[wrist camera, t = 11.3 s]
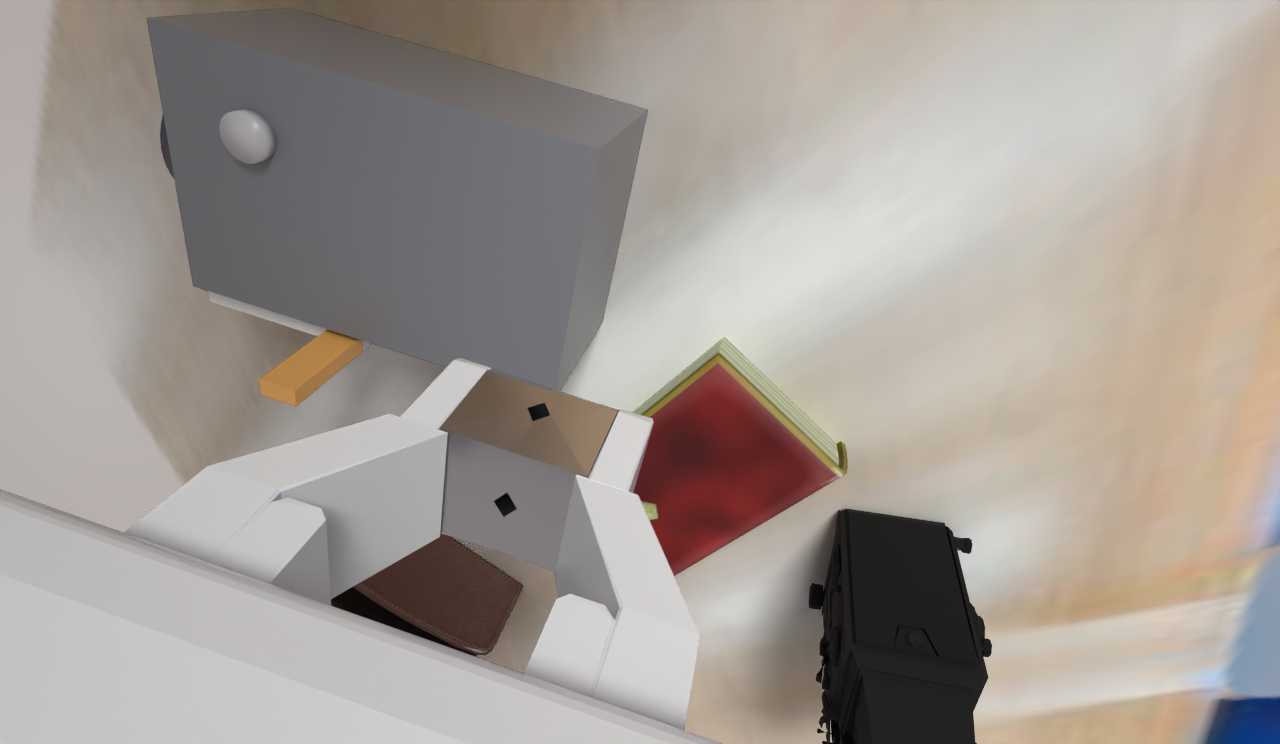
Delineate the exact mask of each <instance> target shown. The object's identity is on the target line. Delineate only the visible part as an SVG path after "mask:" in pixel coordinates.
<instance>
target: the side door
mask: <svg viewBox="0 0 1280 744" xmlns="http://www.w3.org/2000/svg"><path fill="white" fill-rule="evenodd" d="M208 295H209V301H210V302H213V303H216V304H219V305H222V306H225V307H228V308H231V309H235V310H238V311H241V312H244V313H247V314H250V315H253V316H256V317H259V318H263V319H266V320H269V321H272V322H275V323H278V324H281V325H284V326H287V327H290V328H294V329H297V330H300V331H303V332H306V333H309V334H312V335H315V336H317V337H316V338H315V339H313V340H312V341H311V342H309V343H308V344H306V345H305V346H304V347H302V348H301V349H300V350H298V351H297V352H295V353H294V354H293V355H291V356H290V357H289V358H287V359H286V360H284V361H283V362H282V363H280V364H279V365H278V366H276V367H275V368H273V369H272V370H271V371H269V372H268V373H266V374H265V375H264V376H262V377H261V378H260V379H259V385H260V393H261V395H263V396H266V397H269V398H272V399H275V400H278V401H281V402H284V403H287V404H290V405H293V406H297V405H299V404H300V403H301V402H302V401H303V400H305V399H306V398H307V397H308V396H309V395H311V394H312V393H313V392H314V391H315V390H317V389H318V388H319V387H320V386H321V385H323V384H324V383H325V382H326V381H327V380H329V379H330V378H331V377H332V376H333V375H335V374H336V373H337V372H338V371H339V370H341V369H342V368H343V367H344V366H345V365H347V364H348V363H349V362H350V361H351V360H353V359H354V358H355V357H356V356H357V355H359V354H360V353H361V352H362V351H364V350H365V349H366V348H367V347H368V346H370V345H371V344H372V343H369V342H366V341H363V340H359V339H356V338H353V337H350V336H347V335H344V334H341V333H338V332H334V331H331V330H328V329H325V328H322V327H319V326H316V325H313V324H310V323H306V322H303V321H300V320H297V319H294V318H291V317H288V316H285V315H282V314H278V313H275V312H272V311H269V310H266V309H263V308H260V307H257V306H254V305H250V304H247V303H244V302H241V301H238V300H235V299H232V298H229V297H226V296H222V295H219V294H216V293H213V292H210V291H208Z"/></svg>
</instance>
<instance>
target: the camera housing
mask: <svg viewBox="0 0 1280 744" xmlns="http://www.w3.org/2000/svg"><path fill="white" fill-rule="evenodd" d="M147 23H148V29H149V35H150V41H151V46H152V52H153V58H154V64H155V69H156V75H157V81H158V87H159V92H160V98H161V104H162V110H163V117H162V122H161V132H160V137H161V149H162V153H163V158H164V160H165V163H166V166H167V168H168V170H169V172H170V174H171V175H172V177H173V178H174V179H175V184H176V190H177V196H178V202H179V207H180V213H181V219H182V225H183V230H184V236H185V242H186V248H187V254H188V259H189V265H190V271H191V277H192V282H193V286H194V287H198V288H201V289H204V290H207V291H210V292H213V293H216V294H219V295H222V296H226V297H229V298H232V299H235V300H238V301H241V302H244V303H247V304H250V305H254V306H257V307H260V308H263V309H266V310H269V311H272V312H275V313H278V314H282V315H285V316H288V317H291V318H294V319H297V320H300V321H303V322H306V323H310V324H313V325H316V326H319V327H322V328H325V329H328V330H331V331H334V332H338V333H341V334H344V335H347V336H350V337H353V338H356V339H359V340H363V341H366V342H369V343H372V344H375V345H378V346H381V347H384V348H387V349H391V350H394V351H397V352H400V353H403V354H406V355H409V356H412V357H415V358H419V359H422V360H425V361H428V362H431V363H434V364H437V365H440V366H443V367H447V366H448V365H449V364H450V363H451V362H452V361H453V360H455V359H459V358H462V359H465V360H469V361H472V362H475V363H478V364H481V365H484V366H487V367H489V368H491V369H493V368H494V369H496V370H499V371H502V372H505V373H508V374H511V375H514V376H517V377H520V378H523V379H526V380H529V381H532V382H535V383H537V384H540V385H543V386H546V387H549V388H552V389H555V390H556V391H559V392H560V391H561V389H562V387H563V386H564V384H565V383H566V381H567V379H568V378H569V376H570V374H571V373H572V371H573V369H574V368H575V366H576V365H577V363H578V361H579V360H580V358H581V356H582V355H583V353H584V352H585V350H586V348H587V347H588V345H589V343H590V342H591V340H592V339H593V337H594V335H595V334H596V332H597V330H598V329H599V327H600V325H601V324H602V322H603V318H604V313H605V308H606V304H607V299H608V294H609V290H610V285H611V280H612V276H613V271H614V266H615V262H616V257H617V252H618V248H619V243H620V238H621V234H622V229H623V224H624V220H625V215H626V210H627V206H628V201H629V196H630V192H631V187H632V182H633V178H634V173H635V168H636V164H637V159H638V154H639V150H640V145H641V140H642V136H643V131H644V126H645V122H646V117H647V112H648V110H647V109H644V108H640V107H637V106H633V105H630V104H626V103H623V102H619V101H616V100H612V99H608V98H605V97H601V96H598V95H594V94H591V93H587V92H584V91H580V90H577V89H573V88H570V87H566V86H563V85H559V84H556V83H552V82H549V81H545V80H542V79H538V78H535V77H531V76H527V75H524V74H520V73H517V72H513V71H510V70H506V69H503V68H499V67H496V66H492V65H489V64H485V63H482V62H478V61H475V60H471V59H468V58H464V57H461V56H457V55H453V54H450V53H446V52H443V51H439V50H436V49H432V48H429V47H425V46H422V45H418V44H415V43H411V42H408V41H404V40H401V39H397V38H394V37H390V36H387V35H383V34H380V33H376V32H372V31H369V30H365V29H362V28H358V27H355V26H351V25H348V24H344V23H341V22H337V21H334V20H330V19H327V18H323V17H320V16H316V15H313V14H309V13H306V12H302V11H298V10H295V9H291V8H287V9H272V10H256V11H241V12H225V13H210V14H195V15H179V16H164V17H148V18H147Z"/></svg>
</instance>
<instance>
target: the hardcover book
mask: <svg viewBox="0 0 1280 744" xmlns="http://www.w3.org/2000/svg"><path fill="white" fill-rule="evenodd" d="M632 413H635V414H639V415H642V416H646V417H649V418H653V427H652V431H651V434H650V437H649V441H648V444H647V448H646V451H645V454H644V458H643V461H642V465H641V468H640V471H639V475H638V478H637V482H636V485H635V488H634V492H633V493H634V494H637V495H639V498H640V500H641V502H642V504H643V507H644V509H645V511H646V514H647V516H648V518H649V520H650V523H651V525H652V527H653V529H654V532H655V534H656V536H657V538H658V541H659V543H660V545H661V548H662V550H663V552H664V554H665V557H666V559H667V561H668V563H669V566H670V568H671V570H672V573H673V575H674V576H675V575H676V574H678V573H680V572H681V571H683V570H685V569H687V568H688V567H690V566H692V565H693V564H695V563H697V562H698V561H700V560H702V559H703V558H705V557H707V556H708V555H710V554H712V553H713V552H715V551H717V550H718V549H720V548H722V547H724V546H725V545H727V544H729V543H730V542H732V541H734V540H735V539H737V538H739V537H740V536H742V535H744V534H745V533H747V532H749V531H750V530H752V529H754V528H755V527H757V526H759V525H761V524H762V523H764V522H766V521H767V520H769V519H771V518H772V517H774V516H776V515H777V514H779V513H781V512H782V511H784V510H786V509H787V508H789V507H791V506H792V505H794V504H796V503H798V502H799V501H801V500H803V499H804V498H806V497H808V496H809V495H811V494H813V493H814V492H816V491H818V490H819V489H821V488H823V487H824V486H826V485H828V484H830V483H831V482H833V481H835V480H836V479H838V478H840V477H841V476H843V475H845V474H846V472H847V453H846V448H845V445H844V444H843V443H842V442H839V443H838V444H836V443H835V442H834V441H833V440H831V439H830V438H829V437H828V436H827V435H826V434H825V433H824V432H823V431H822V430H821V429H820V428H819V427H818V426H817V425H816V424H815V423H814V422H813V421H812V420H811V419H810V418H809V417H807V416H806V415H805V414H804V413H803V412H802V411H801V410H800V409H799V408H798V407H797V406H796V405H795V404H794V403H793V402H792V401H791V400H790V399H789V398H788V397H787V396H786V395H785V394H783V393H782V392H781V391H780V390H779V389H778V388H777V387H776V386H775V385H774V384H773V383H772V382H771V381H770V380H769V379H768V378H767V377H766V376H765V375H764V374H763V373H762V372H761V371H759V370H758V369H757V368H756V367H755V366H754V365H753V364H752V363H751V362H750V361H749V360H748V359H747V358H746V357H745V356H744V355H743V354H742V353H741V352H740V351H739V350H738V349H737V348H735V347H734V346H733V345H732V344H731V343H730V342H729V341H728V340H727V339H726V338H725V337H724V338H723V339H721V340H720V341H719V342H718V343H717V344H715V345H714V346H713V347H712V348H711V349H709V350H708V351H707V352H706V353H704V354H703V355H702V356H701V357H700V358H698V359H697V360H696V361H695V362H693V363H692V364H691V365H690V366H689V367H687V368H686V369H685V370H684V371H682V372H681V373H680V374H679V375H678V376H676V377H675V378H674V379H673V380H671V381H670V382H669V383H668V384H667V385H665V386H664V387H663V388H662V389H660V390H659V391H658V392H657V393H656V394H654V395H653V396H652V397H651V398H649V399H648V400H647V401H646V402H645V403H643V404H642V405H641V406H640V407H638V408H637V409H636V410H635V411H634V412H632Z"/></svg>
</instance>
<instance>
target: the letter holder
mask: <svg viewBox="0 0 1280 744" xmlns="http://www.w3.org/2000/svg"><path fill="white" fill-rule="evenodd" d="M522 588H523V586H522V585H521V584H520V583H518V582H516V581H515V580H514V579H512V578H511V577H510V576H508V575H506V574H505V573H503V572H502V571H500V570H499V569H497V568H496V567H494V566H493V565H491V564H490V563H488V562H487V561H485V560H484V559H482V558H481V557H479V556H478V555H477V554H475V553H473V552H472V551H470V550H469V549H468V548H466V547H464V546H463V545H462V544H460V543H459V542H457V541H456V540H454V539H453V538H451V537H450V536H448V535H444V534H441V533H440V537H439V538H437V539H435V540H433V541H432V542H430V543H428V544H426V545H425V546H423V547H421V548H419V549H418V550H416V551H414V552H412V553H411V554H409V555H407V556H406V557H404V558H402V559H400V560H399V561H397V562H395V563H393V564H392V565H390V566H388V567H386V568H385V569H383V570H381V571H379V572H378V573H376V574H374V575H372V576H371V577H369V578H367V579H365V580H364V581H362V582H360V583H358V584H357V585H355V586H353V587H351V588H350V589H348V590H346V591H344V592H343V593H341V594H339V595H337V596H336V597H334V598H332V599H331V606H333V607H336V608H339V609H342V610H344V611H347V612H350V613H353V614H356V615H359V616H361V617H364V618H367V619H370V620H373V621H376V622H378V623H381V624H384V625H387V626H390V627H393V628H395V629H398V630H401V631H404V632H407V633H410V634H412V635H415V636H418V637H421V638H424V639H427V640H429V641H432V642H435V643H438V644H441V645H444V646H447V647H449V648H452V649H455V650H458V651H461V652H464V653H466V654H469V655H472V656H475V657H476V656H477V654H478V655H486V654H488V653H489V652H490V651H492V649H493V648H494V646H495V644H496V643H497V641H498V638H499V636H500V633H501V631H502V630H503V628H504V625H505V623H506V621H507V619H508V617H509V615H510V613H511V611H512V609H513V607H514V605H515V603H516V601H517V599H518V597H519V594H520V592H521V590H522Z"/></svg>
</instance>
